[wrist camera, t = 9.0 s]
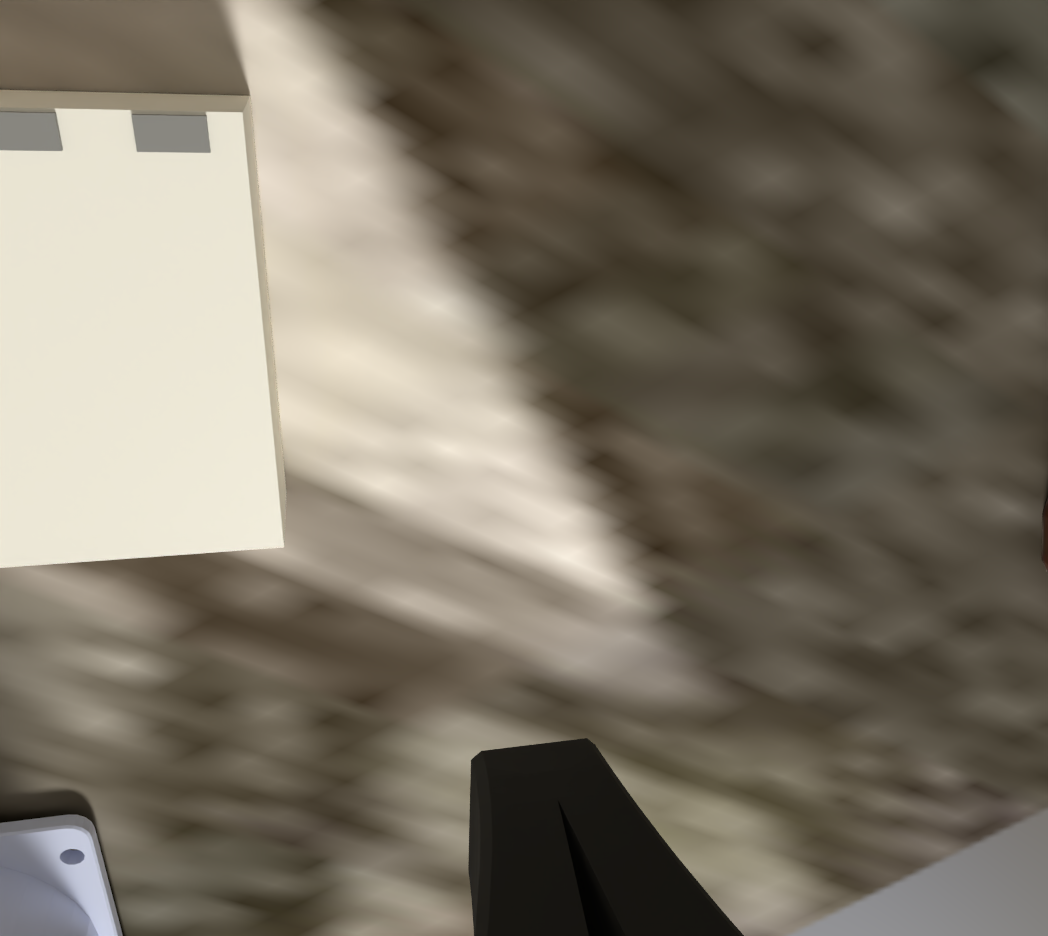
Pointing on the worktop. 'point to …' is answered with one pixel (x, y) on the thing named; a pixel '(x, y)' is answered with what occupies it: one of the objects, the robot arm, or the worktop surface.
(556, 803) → the robot arm
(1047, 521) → the food container
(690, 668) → the worktop surface
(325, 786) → the worktop surface
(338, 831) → the worktop surface
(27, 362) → the board
